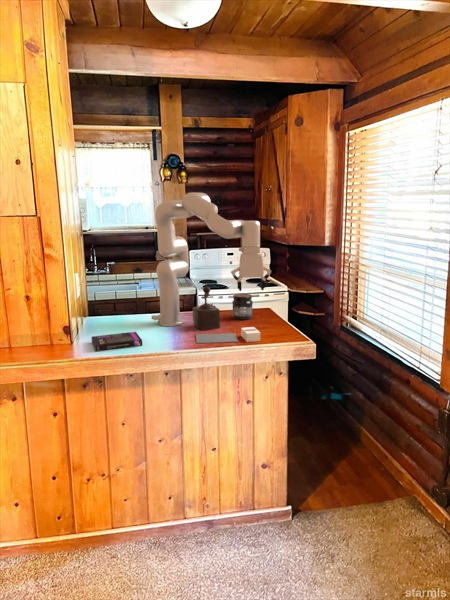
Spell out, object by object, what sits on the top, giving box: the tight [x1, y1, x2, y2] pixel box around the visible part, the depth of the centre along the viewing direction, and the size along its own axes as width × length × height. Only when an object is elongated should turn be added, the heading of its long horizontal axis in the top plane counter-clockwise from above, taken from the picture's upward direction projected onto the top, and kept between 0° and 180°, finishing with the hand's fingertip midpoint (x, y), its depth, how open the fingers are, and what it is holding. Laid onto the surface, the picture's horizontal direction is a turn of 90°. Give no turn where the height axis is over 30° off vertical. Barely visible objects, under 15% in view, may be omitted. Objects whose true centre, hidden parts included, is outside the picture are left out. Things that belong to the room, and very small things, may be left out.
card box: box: [240, 326, 261, 343], centre depth 196 cm, size 6×9×4 cm, turn 15°
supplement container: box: [231, 293, 254, 321], centre depth 229 cm, size 10×10×12 cm
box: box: [91, 331, 143, 353], centre depth 190 cm, size 14×4×20 cm
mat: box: [195, 332, 239, 345], centre depth 196 cm, size 18×12×1 cm, turn 95°
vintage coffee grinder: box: [192, 286, 221, 331], centre depth 215 cm, size 16×11×18 cm
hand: (251, 290), depth 191 cm, fingers open, 9 cm apart
